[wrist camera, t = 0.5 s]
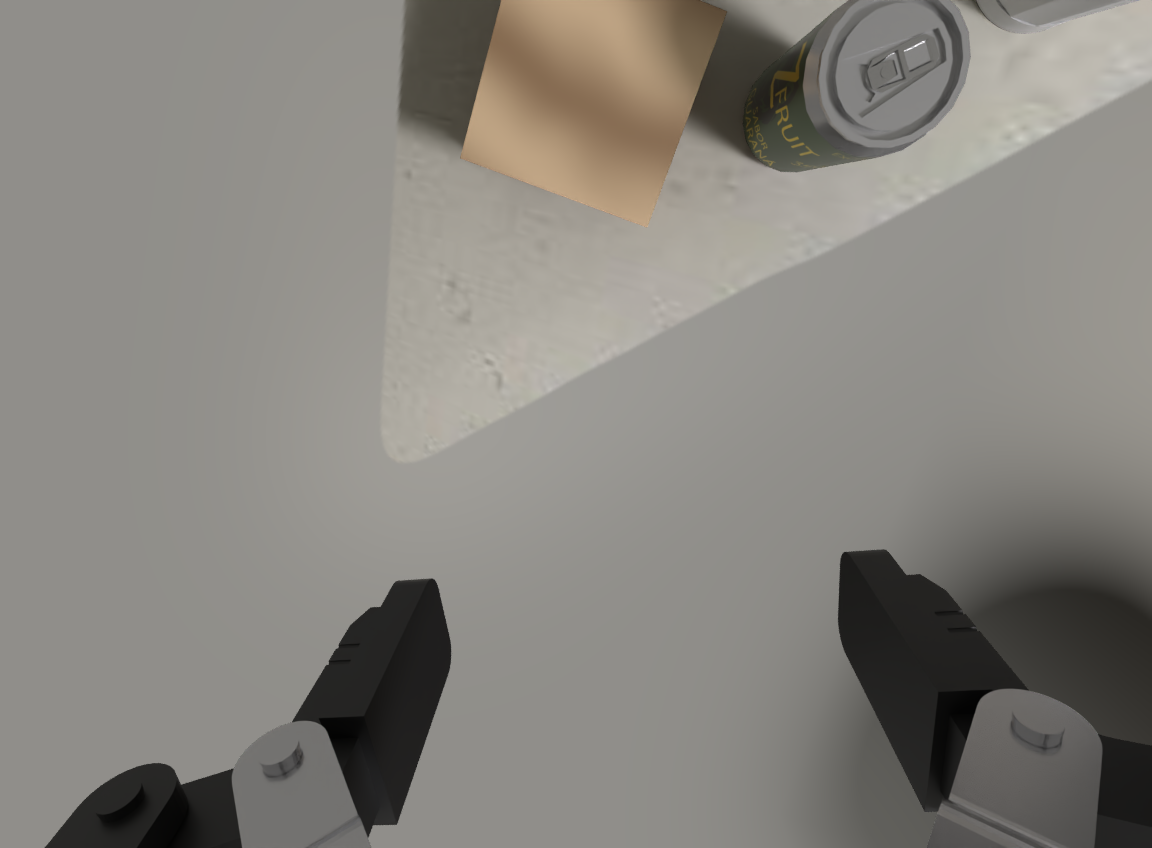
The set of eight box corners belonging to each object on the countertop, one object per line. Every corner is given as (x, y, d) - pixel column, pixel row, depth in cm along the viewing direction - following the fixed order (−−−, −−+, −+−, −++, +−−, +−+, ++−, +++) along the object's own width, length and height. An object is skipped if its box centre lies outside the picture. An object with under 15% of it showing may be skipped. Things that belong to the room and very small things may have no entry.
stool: (535, -20, 31) (520, -72, 25) (705, 47, 31) (727, 11, 25) (484, 166, 33) (460, 158, 28) (640, 224, 34) (647, 227, 28)
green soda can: (827, 37, 31) (954, -62, 19) (859, 144, 32) (995, 110, 21) (724, 90, 32) (789, 25, 20) (760, 191, 33) (839, 183, 22)
